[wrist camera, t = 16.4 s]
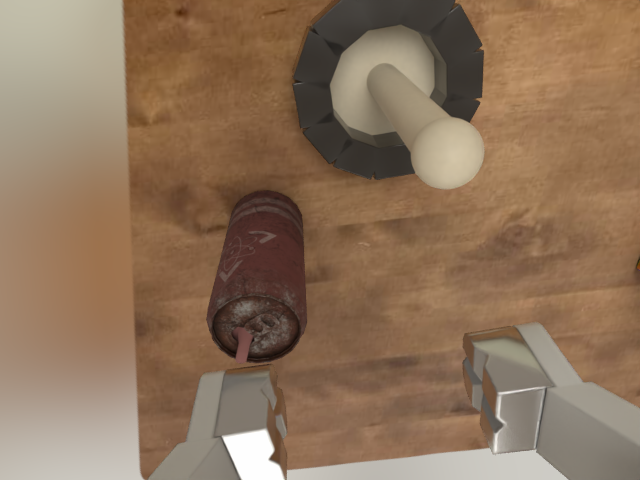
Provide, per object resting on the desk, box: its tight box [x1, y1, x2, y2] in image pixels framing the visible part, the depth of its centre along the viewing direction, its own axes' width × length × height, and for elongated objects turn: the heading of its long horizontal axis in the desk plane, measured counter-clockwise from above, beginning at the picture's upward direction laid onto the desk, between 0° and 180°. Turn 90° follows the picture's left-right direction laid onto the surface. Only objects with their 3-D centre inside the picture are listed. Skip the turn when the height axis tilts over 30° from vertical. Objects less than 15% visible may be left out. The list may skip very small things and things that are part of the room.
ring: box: [292, 0, 484, 180], centre depth 30 cm, size 12×12×3 cm
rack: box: [311, 24, 484, 189], centre depth 25 cm, size 9×9×18 cm
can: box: [206, 191, 307, 363], centre depth 32 cm, size 6×6×14 cm
